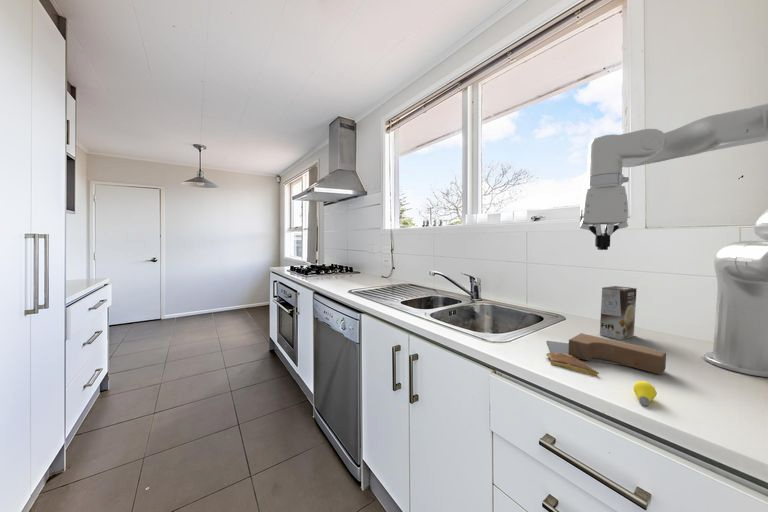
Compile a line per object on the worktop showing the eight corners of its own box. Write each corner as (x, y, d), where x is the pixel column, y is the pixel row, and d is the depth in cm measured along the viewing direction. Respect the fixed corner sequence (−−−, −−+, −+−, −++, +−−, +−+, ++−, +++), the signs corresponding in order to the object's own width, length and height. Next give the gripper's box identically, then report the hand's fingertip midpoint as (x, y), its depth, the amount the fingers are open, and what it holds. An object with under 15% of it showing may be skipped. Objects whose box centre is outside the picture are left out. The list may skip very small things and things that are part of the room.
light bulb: (651, 395, 59) (659, 383, 57) (650, 416, 55) (660, 404, 53) (631, 386, 61) (638, 374, 59) (629, 405, 57) (637, 393, 55)
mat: (645, 354, 80) (645, 353, 80) (664, 371, 70) (664, 369, 70) (546, 341, 89) (546, 340, 89) (550, 354, 79) (550, 353, 79)
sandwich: (599, 379, 67) (599, 371, 67) (565, 378, 67) (566, 371, 67) (570, 359, 78) (570, 352, 77) (541, 359, 78) (542, 352, 78)
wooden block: (567, 355, 78) (657, 381, 64) (568, 339, 78) (659, 361, 63) (580, 347, 83) (665, 370, 69) (580, 332, 83) (666, 352, 69)
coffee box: (622, 340, 90) (624, 290, 89) (599, 334, 96) (601, 287, 95) (634, 335, 95) (637, 288, 94) (611, 330, 100) (613, 285, 100)
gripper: (632, 183, 79) (630, 249, 80) (569, 187, 85) (568, 249, 86) (645, 177, 72) (642, 250, 73) (575, 183, 78) (573, 250, 79)
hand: (602, 249), depth 80 cm, fingers closed
